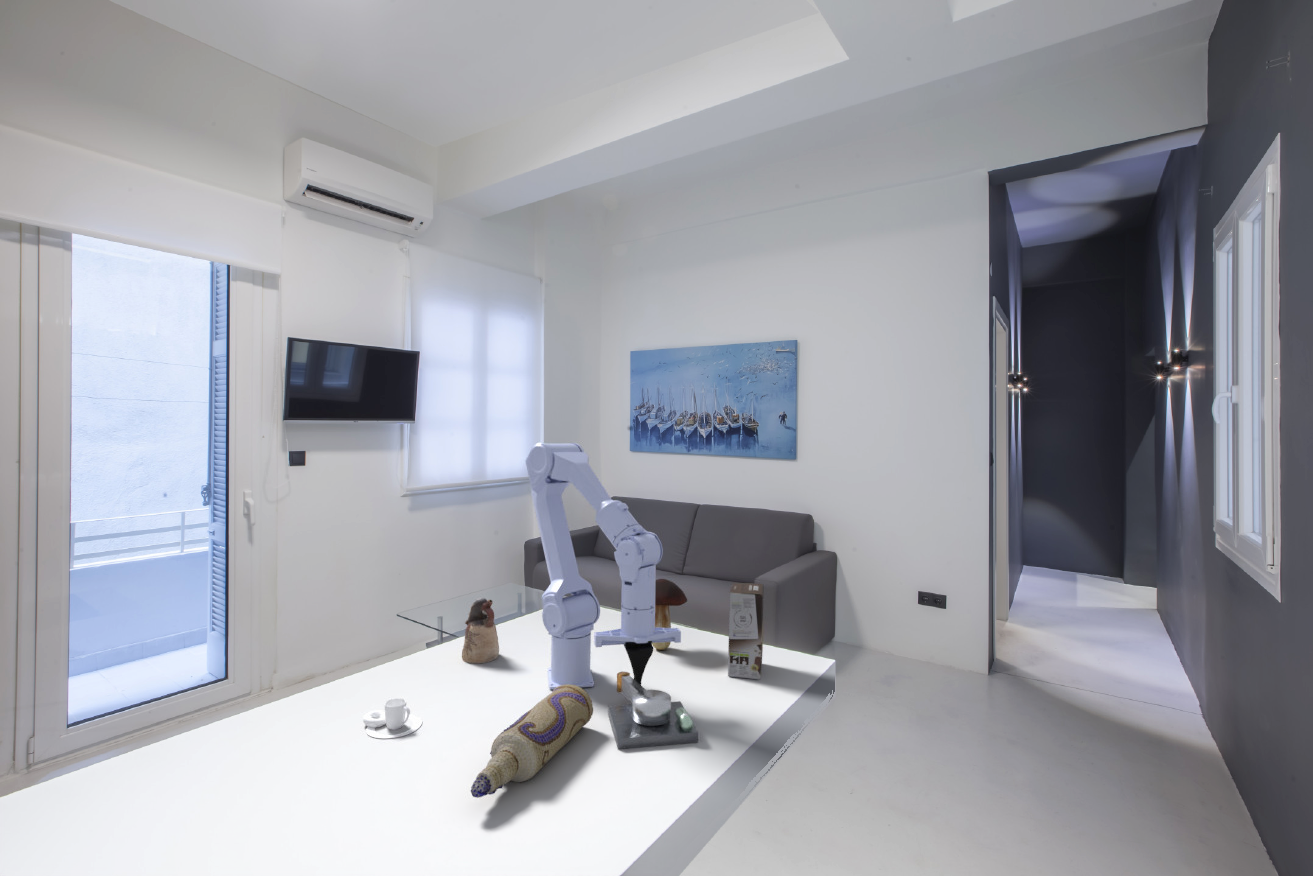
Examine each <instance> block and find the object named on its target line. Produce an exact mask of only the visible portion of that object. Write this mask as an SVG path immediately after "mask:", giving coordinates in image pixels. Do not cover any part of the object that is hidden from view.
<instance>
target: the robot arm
mask: <svg viewBox="0 0 1313 876" xmlns="http://www.w3.org/2000/svg"><path fill="white" fill-rule="evenodd" d="M589 462H590V457H589V455H588V454H587V453H586V452H585V450H584V448H583V447H582V446H581V445H580V444H579V443H577V442H570V443H544V442H537V443H535V444H534V445H532V447H531V448H530V450H529V452H528V454H527V457H526V459H525V465H526V470H527V476H528V479H529V484H530V493H531V498H532V503H533V507H534V513H535V517H536V518H535V519H536V522H537V526H538V530H539V535H540V541H541V544H542V548H543V553H544V557H545V563H546V566H547V572H548V576H549V581H550V584H549V586H548V587H547V588H546V590H545V591H544V592H543V594H542V596H541V601H542V613H541V614H542V615H541V617H542V618H541V619H542V622H543V626H544V628H545V630H546V631H547V632H548V635H549V636H551V645H550V646H551V647H550V649H551V650H550V651H551V652H550V654H551V655H550V656H551V657H550V667H548V668H547V678H548V679H547V680H548V688H549V689H550V690H554V689H555V688H556V687H558V686H561V685H564V684H571V685H576V686H578V687H580V688H592V687H595V682H594V678H593V674H592V671H591V653H592V652H591V646H592V644H591V643H592V631H594V629H595V628H594V625H595V624H596V623H597V622H598V621H599V619H600V616H601V605H600V602H599V599H598V598H597V596H596V595H595V593H594V591H593V586H592V584H591V583H590V582H589V581H587V580H586V579H585V578H583V577H582V576H581V575H580V572H579V567H578V563H577V559H576V555H575V554H576V553H575V550H574V545H573V541H572V537H571V533H570V529H569V523H568V519H567V515H566V510H565V506H564V502H563V498H562V494H563V493H564V491H565V489H567V488H568V487H569V486H570V485H571V484H572V485H573V487H575V489H576V490H577V491H578V492H579V493H580V494H581V495H582V497H583V498H584V499H585V501H586V502H587V503H588V504H589V506H591V508H592V509H594V510H595V517H594V518H595V519H594V520H595V523H596V524H597V526H598V527H599V528H600V530H601V531H602V533H603V534H604V535H605V537H606V538H607V539H608V541H609V542H610V543H611V545H612V546H613V547H614V548H615V551H614V552H613V554H614V560H615V562H616V564H617V566H618V569H619V577H620V580H621V605H620V606H621V609H620V610H621V612H620V628H616V629H611V630H605V631H596V632H594V637H593V638H594V641H593V642H594V643H593V644H594V646H595V648H601V647H603V646H617V645H618V646H619V645H623V647H624V648H625V651H626V654H627V656H628V659H629V661H630V665H631V669H632V673H633V679H634V680H635V681H637V682H638V683H639V684H640V685H641V686H642V680H643V676H644V673H645V669H646V667H647V664H648V663H649V661H650V659H651V657H652V656H653V652H654V646H653V644H652V643H657V642H671V643H672V642H674V643H682V641H681V640H682V631H681V630H680V628H679V627H671V628H658V627H655V580H657V579H656V577H657V576H656V574H657V571H656V567H657V566H656V565H658V564H659V563H660V562H661V560H662V557H663V555H664V554H663V553H664V552H663V551H664V549H663V544H662V542H661V540H660V538H659V537H658V535H657V534H656V533H654V532H651V531H648V530H647V529H645V528H644V527H643V525H641V524H640V523H639V522H638V521H637V520H636V519H635V517H634V516H633V515H632V513H631V512H630V510H629V506H628V505H627V503H626V502H622V501H621V500H617V499H615V500H614V499H612V497H611V495H609V493H608V491H607V489H605V487H604V485H603V483H602V482H601V481H600V479H599V478H598V476H597V475H596V473H595V472H594V470H593V469H592V467H591V466H590V464H589ZM569 594H570V596H569ZM566 595H568V596H566Z"/></svg>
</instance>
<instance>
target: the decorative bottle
mask: <svg viewBox="0 0 1313 876" xmlns="http://www.w3.org/2000/svg"><path fill="white" fill-rule="evenodd" d="M593 714H594V707H593V700H592V699H591V697H590V695H589V694H588V692H586V690H584V689H583V687H581V688H580V687H578V686H576V685H571V684H564V685H561V686H558V687H556V688H555V689H552V692H551V693H548V695H546V696H545V697H544V698H543V699H541V700H540V701H538V702H537V703H536V704H535V705H534V706H533V707H531V708H530V710H528V711H527V712H525V713H524V714H522V715H521V716H520V717H519V718H518V719H516V720H515V721H514V722H513V723H512V724H510V725H509V726H508V727H506V729H503V731H501V732H500V733H499V734H498V735H497V736H496V737H495V739H493V742H492V744H491V750H490V751H489V755H490V756H491V757H490V759H489V760H488V762H487V764H486V767H485V768H484V769H482V770H481V771H480V772H479V773H478V774H477V776H476V778H475V780H474V781H473V783H472V784H471V787H470V788H471V789H470V793H471V795H472V798H482V797H484V796H487V795H494V794H495V793H496V792H497V790H499V789H503V786H504V785H506V784H508V783H509V782H510V781H511V782H515V783H522V782H525V781H529V780H530V779H532V778H533V777H534V776H535V775H536V774H538V772H539V771H540V770H541V769H543V767H544V766H545V765H546V764H547V763H548V762H549V761H550V760H551V759H552V758H553V757H554V756H556V754H557V753H558V752H559V751H560V750H561V749H562V748H563V747H564V746H565V745H566V744H567V743H569V741H570V740H571V739H572V738H573V737H574V736H575V735H576V734H577V733H578V732H579V731H580V730H581V729H582V728H583V727H584V726H586V725H588V723H589V722H590V721H591V719H592V717H593Z"/></svg>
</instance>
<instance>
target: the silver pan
mask: <svg viewBox="0 0 1313 876" xmlns="http://www.w3.org/2000/svg"><path fill="white" fill-rule="evenodd" d="M616 692H617V693H619V694H622V695H623V696H624V697H625V698H626V699H627V700H628V701H629V702H631V705H632V719H633V720H634V721H635V722H637V723H639V724H642V725H647V726H657V725H662V724H665V723H667V722H668V721H669V720H670V718H671V702H672V696H671V695H670V694H669V693H668V692H666V691H663V690H659V689H646V688H645V687H643V686H642V684H641V685H640V684H639V683H638V682H637V681H635V680H634V677H632V676H631V673H630V672H628V671H619V672H617V673H616Z"/></svg>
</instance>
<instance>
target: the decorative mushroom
mask: <svg viewBox="0 0 1313 876" xmlns="http://www.w3.org/2000/svg"><path fill="white" fill-rule="evenodd" d="M687 602H688V597H686V594H685V592H684V591H683V590H682V589H681V588H680V587H679V586H678V585H677V584H676V583H675V582H673V581H672V580H669V579H666V578H658V579H656V580H655V627H658V628H672V624H671V623H672V622H671V614H670V607H671V606H672V607H676V606H677V607H678V606H682V605H684V604H686V603H687ZM671 643H672V642H657V643H652V646H653V648H655V649H656V650H660V651H661V650H662V651H664V650H666V649H668V648H669V646H670V645H671Z"/></svg>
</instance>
